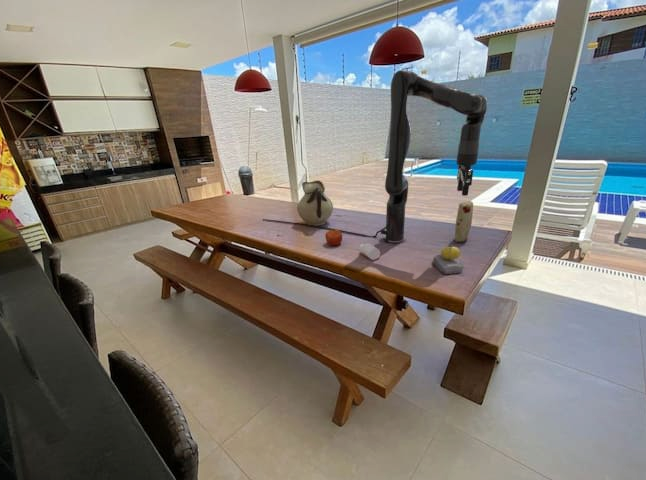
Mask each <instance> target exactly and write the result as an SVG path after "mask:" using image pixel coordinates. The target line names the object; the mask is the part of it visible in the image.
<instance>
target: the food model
mask: <svg viewBox="0 0 646 480" xmlns="http://www.w3.org/2000/svg"><path fill="white" fill-rule="evenodd" d="M473 213H474V202H473V201H472V200H467V201H464V202H459V203H458V209H457V214H456V219H455V230H454V241H455V242H456V243H462V242H466V241H467V240H468V239H469V238H468V237H469V234H470V231H471V227H472V223H473Z"/></svg>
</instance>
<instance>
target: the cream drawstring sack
mask: <svg viewBox="0 0 646 480" xmlns="http://www.w3.org/2000/svg"><path fill="white" fill-rule="evenodd" d="M301 187H302V190H303V192H304V194H303V196H302V197H301V199H300V200H298V203H297V206H296V211H297V214H298V216H299V217H300V218H301V220H302V221H304V222H305V224H308V225H314V226H320V227H321V226H323V225H325V224H326V222H327V221H328V220H329V219H330V218H331V216H332V214H333V211H334V204H333V202H332V200H331V199H330V198H329V197H328V196H327V195H326V194H325V191H326V188H325V184H324V183H323V182H322V181H321V180H313V181H303V182H302V184H301Z"/></svg>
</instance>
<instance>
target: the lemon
mask: <svg viewBox="0 0 646 480" xmlns="http://www.w3.org/2000/svg"><path fill="white" fill-rule="evenodd" d="M440 255H441V256H442V257H443V258H444V259H457V260H458V258H460V256H461V250H460V249H459V247H457V246H444V247H443V248H442V249H441V250H440Z"/></svg>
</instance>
